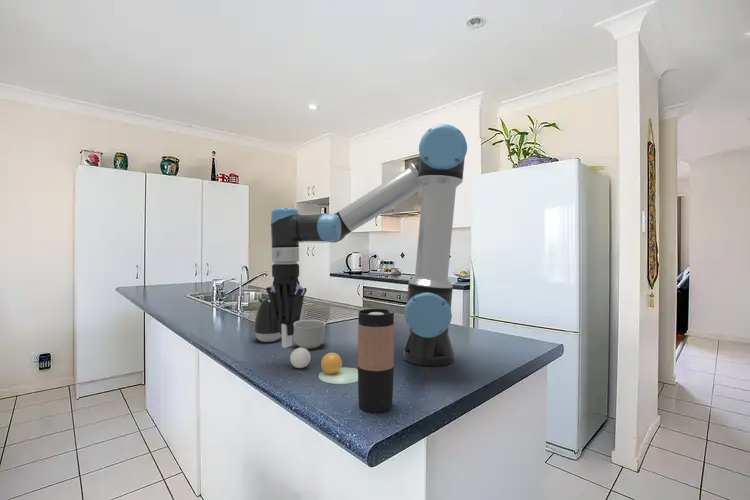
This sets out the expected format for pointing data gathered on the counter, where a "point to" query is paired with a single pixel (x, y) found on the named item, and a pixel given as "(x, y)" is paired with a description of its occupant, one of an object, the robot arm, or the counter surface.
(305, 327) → the teacup
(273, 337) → the black and grey ovoid
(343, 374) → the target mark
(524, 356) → the counter surface
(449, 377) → the counter surface
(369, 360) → the travel mug
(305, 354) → the cue ball
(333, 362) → the orange ball
